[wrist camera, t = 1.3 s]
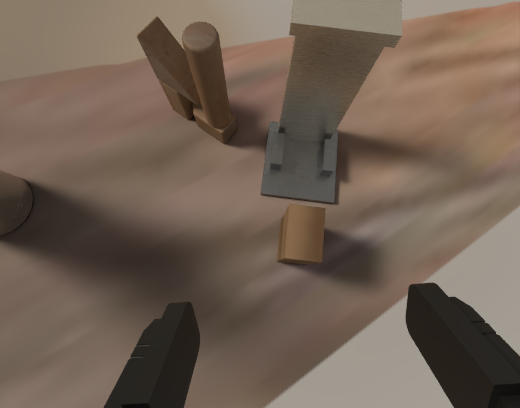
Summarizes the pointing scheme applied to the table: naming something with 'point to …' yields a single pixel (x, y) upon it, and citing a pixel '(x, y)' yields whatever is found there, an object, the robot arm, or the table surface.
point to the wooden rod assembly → (191, 74)
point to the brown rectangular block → (301, 235)
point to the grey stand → (323, 90)
